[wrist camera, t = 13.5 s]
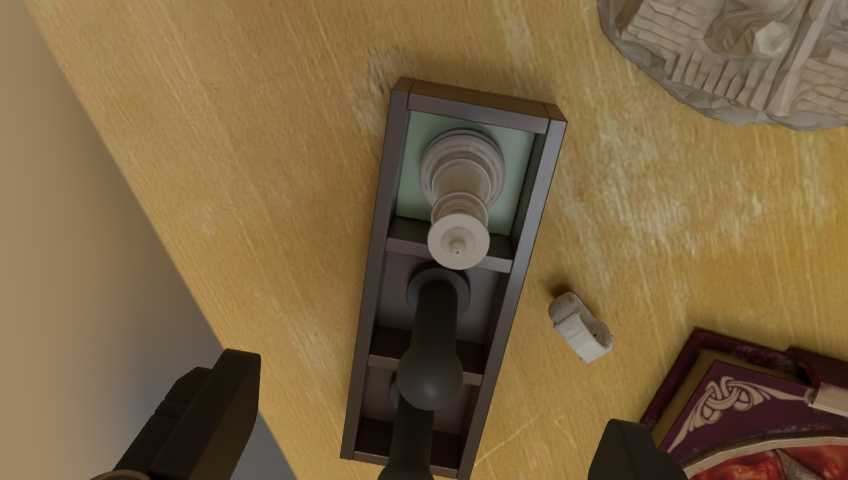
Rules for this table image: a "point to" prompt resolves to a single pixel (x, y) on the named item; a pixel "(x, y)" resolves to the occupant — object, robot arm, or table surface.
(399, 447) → the pawn
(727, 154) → the table surface
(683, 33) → the ceramic cottage
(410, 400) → the pawn
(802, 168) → the table surface
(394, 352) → the rack
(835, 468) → the book
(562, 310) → the white ring
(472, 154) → the chess piece
